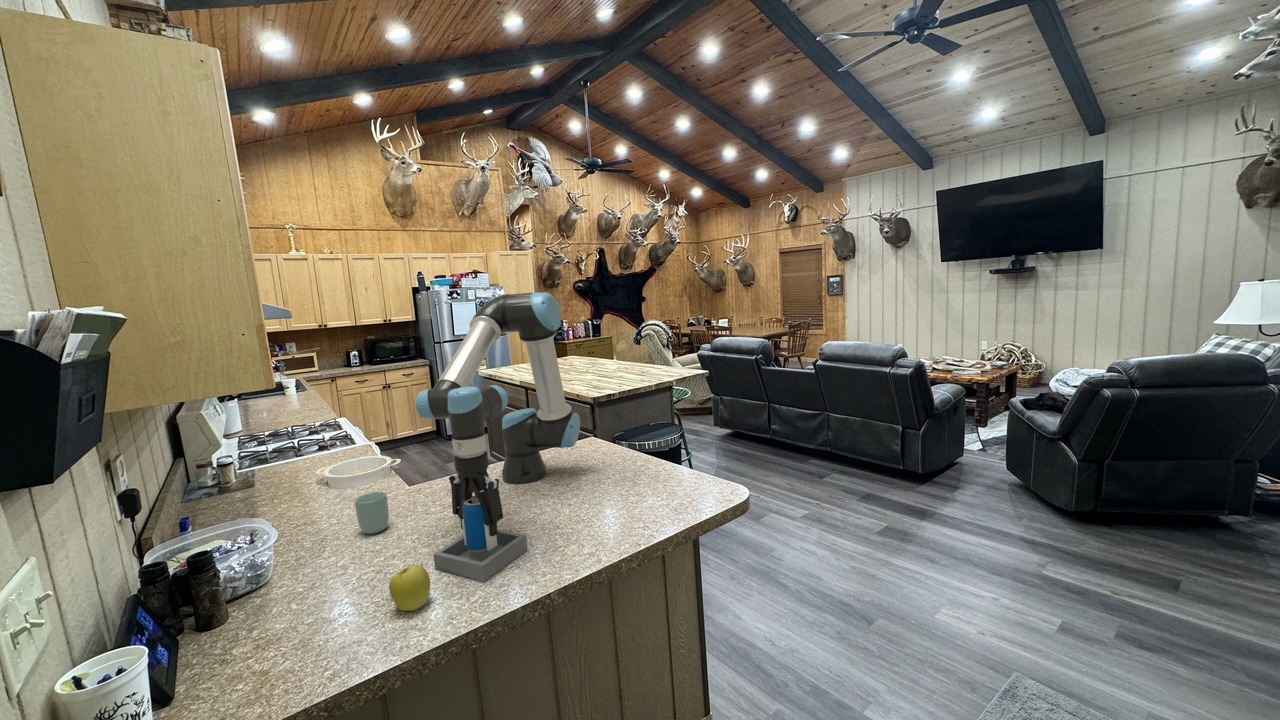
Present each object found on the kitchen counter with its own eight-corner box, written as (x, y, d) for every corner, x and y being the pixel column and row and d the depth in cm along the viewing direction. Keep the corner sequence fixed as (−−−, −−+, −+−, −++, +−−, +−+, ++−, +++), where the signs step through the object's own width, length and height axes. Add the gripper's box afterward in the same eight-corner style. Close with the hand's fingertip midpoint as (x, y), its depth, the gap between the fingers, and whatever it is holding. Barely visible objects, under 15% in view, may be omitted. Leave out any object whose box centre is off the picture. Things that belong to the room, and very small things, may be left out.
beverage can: (466, 543, 127) (461, 497, 126) (493, 538, 130) (488, 492, 128) (467, 556, 121) (462, 507, 120) (496, 549, 124) (491, 501, 122)
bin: (481, 540, 136) (479, 525, 136) (527, 550, 129) (525, 534, 129) (435, 569, 123) (433, 553, 122) (484, 582, 116) (482, 565, 115)
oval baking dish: (409, 463, 204) (408, 452, 204) (392, 484, 182) (391, 471, 182) (331, 472, 200) (329, 460, 199) (304, 494, 178) (302, 481, 177)
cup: (396, 525, 148) (392, 492, 147) (376, 538, 141) (371, 503, 140) (374, 523, 151) (369, 490, 149) (353, 536, 143) (348, 501, 142)
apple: (444, 594, 110) (425, 559, 107) (410, 623, 105) (389, 587, 102) (427, 582, 116) (408, 548, 112) (394, 609, 110) (373, 574, 107)
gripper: (428, 454, 123) (439, 545, 127) (491, 462, 115) (501, 560, 118) (452, 445, 130) (462, 531, 133) (513, 451, 121) (522, 544, 124)
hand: (480, 544), depth 126 cm, fingers closed on beverage can, 6 cm apart
